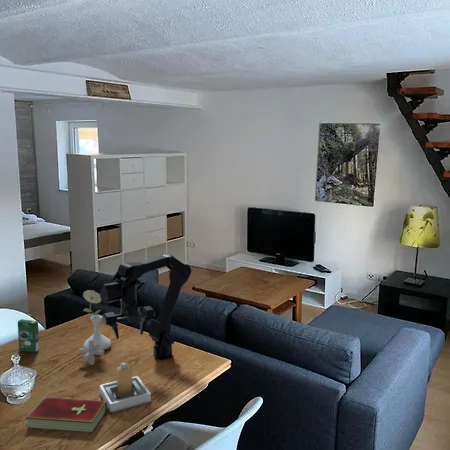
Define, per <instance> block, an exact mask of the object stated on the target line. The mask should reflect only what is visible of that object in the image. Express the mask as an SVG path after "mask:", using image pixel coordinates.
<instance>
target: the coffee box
mask: <svg viewBox="0 0 450 450" xmlns="http://www.w3.org/2000/svg"><path fill="white" fill-rule="evenodd" d="M17 334H18V335H17V336H18V351H19V352H27V353H37V352H39V351H40V337H39V335H40V334H39V320H30V319H20V320H17Z"/></svg>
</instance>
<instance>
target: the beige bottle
mask: <svg viewBox="0 0 450 450" xmlns="http://www.w3.org/2000/svg"><path fill="white" fill-rule="evenodd" d="M132 377H133V368H132V366H131V365H129V363H128V362H121V363H120V365H119V366H117V367H116V381H117V390H116V392H115V397H116V399H121V398H125V397H129V396H133V395H135V390H134V389H133V388H132Z"/></svg>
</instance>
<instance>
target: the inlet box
mask: <svg viewBox="0 0 450 450" xmlns="http://www.w3.org/2000/svg"><path fill="white" fill-rule="evenodd" d="M132 388H133V389H134V390H135V395H133V396H129V397H125V398H121V399H116V397H115V392H116V390H117V380H114V381H111V382H107V383H103V384H99V394H100V396H101V398H102V401H106V402H107V410H109V412H110V413H111V412H112V413H115V412H119V411H122V410H127V409H130V408H134V407H137V406H140V405H141V406H142V405H144V404H149V403H151V402H152V396H151V395H152V393H151V392H150V391H149V389H148V388H147V386H146V385H145V384H144V382H143V381H142V380H141V378H140V377H139V376H138V375H135V376H132Z"/></svg>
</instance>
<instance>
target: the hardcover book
mask: <svg viewBox="0 0 450 450" xmlns="http://www.w3.org/2000/svg"><path fill="white" fill-rule="evenodd" d="M106 411H107V412H108V407H107V402H106V401H104V400H94V399H93V400H92V399H90V400H89V399H80V398H79V399H75V398H61V397H46V396H44V397H43V398H42V399H41V400H40V401H38V403H37V405H36V406H35V407H34V408H33V409H32V410H31V411H30V412H29V413H28V414H27V415H26V417H25V420H27V428H32V429H33V428H34V429H47V430H48V429H49V430H59V431H74V432H84V433H85V432H86V433H87V432H88V433H93V432H94V430H95V428H96V427H97V425H98V423H100V420H101V419H102V417H103V416H104V414H105V413H106Z"/></svg>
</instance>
